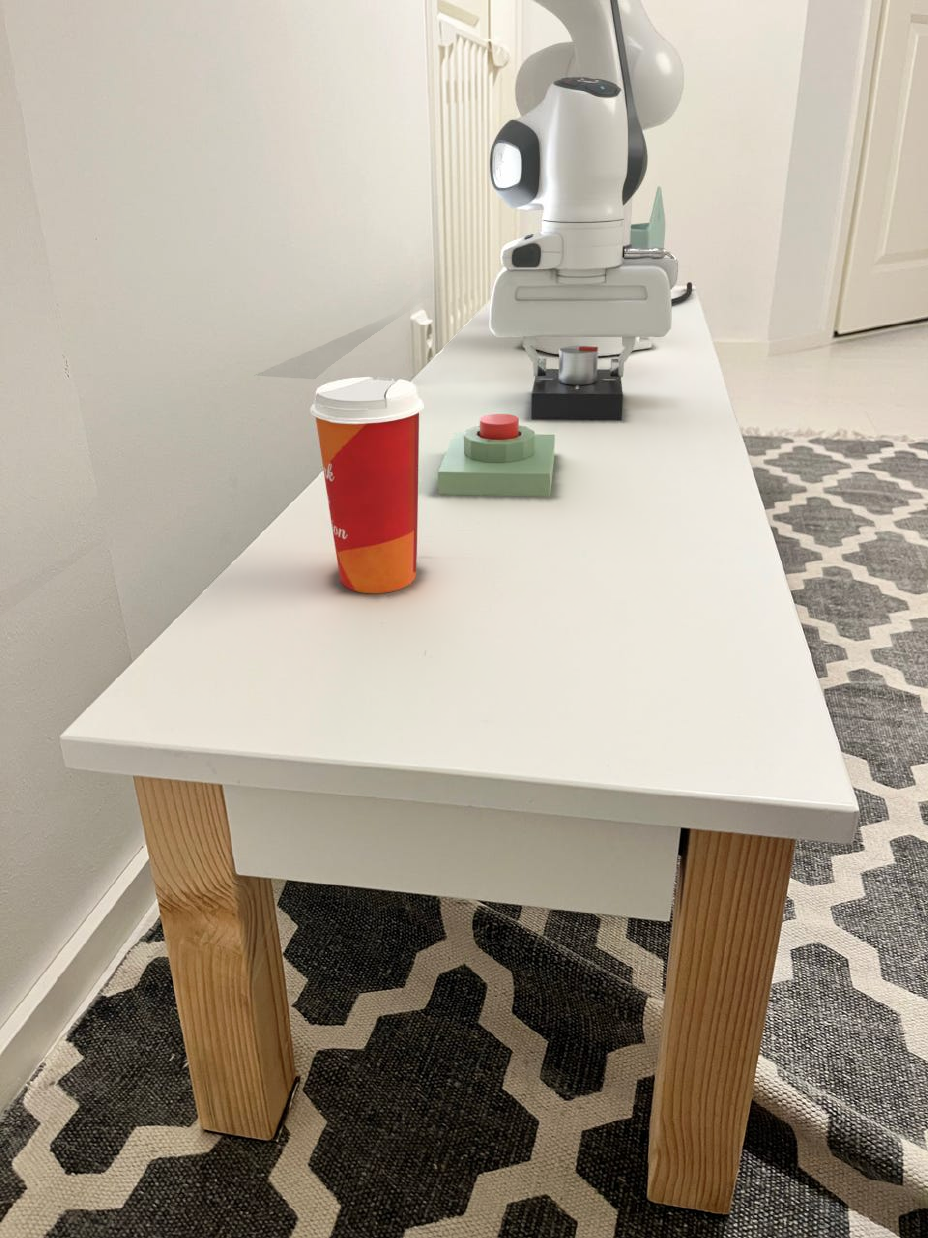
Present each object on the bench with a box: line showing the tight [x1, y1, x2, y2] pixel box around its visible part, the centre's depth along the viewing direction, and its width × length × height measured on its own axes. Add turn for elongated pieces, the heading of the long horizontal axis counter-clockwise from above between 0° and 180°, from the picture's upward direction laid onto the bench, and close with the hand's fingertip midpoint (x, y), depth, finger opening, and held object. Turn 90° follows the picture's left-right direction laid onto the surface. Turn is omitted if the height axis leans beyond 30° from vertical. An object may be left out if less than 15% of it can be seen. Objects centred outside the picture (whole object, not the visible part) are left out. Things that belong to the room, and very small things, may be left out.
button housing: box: [437, 425, 556, 498], centre depth 91 cm, size 12×10×4 cm
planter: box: [630, 185, 667, 258], centre depth 166 cm, size 16×8×20 cm, turn 161°
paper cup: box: [309, 376, 425, 594], centre depth 68 cm, size 8×8×14 cm
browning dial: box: [558, 346, 599, 385], centre depth 111 cm, size 4×4×4 cm
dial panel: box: [530, 368, 624, 422], centre depth 113 cm, size 12×10×3 cm
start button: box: [479, 413, 520, 440], centre depth 90 cm, size 4×4×2 cm
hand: (577, 375), depth 112 cm, fingers open, 7 cm apart
